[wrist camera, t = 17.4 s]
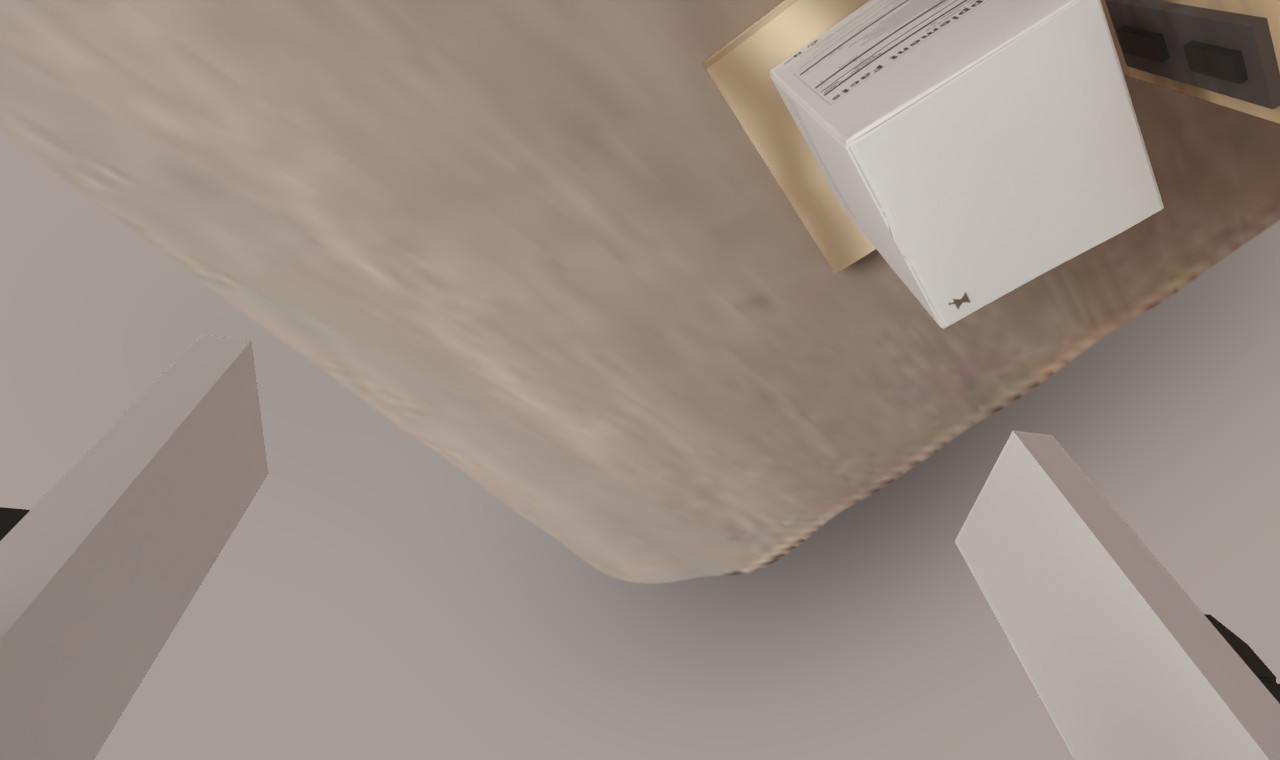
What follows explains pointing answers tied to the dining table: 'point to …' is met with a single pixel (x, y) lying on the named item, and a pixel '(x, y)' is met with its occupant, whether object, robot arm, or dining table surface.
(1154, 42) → the oak post
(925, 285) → the supplement box
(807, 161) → the maple pad
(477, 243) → the dining table surface
